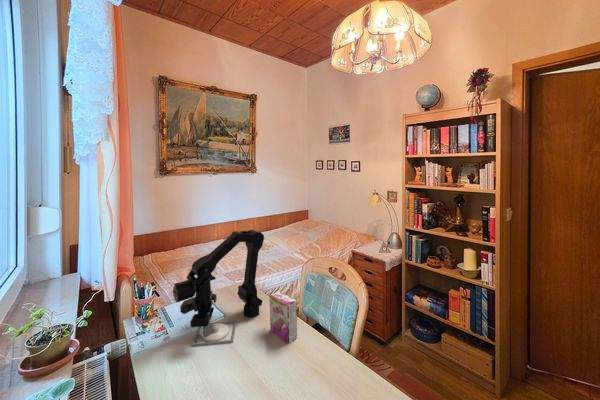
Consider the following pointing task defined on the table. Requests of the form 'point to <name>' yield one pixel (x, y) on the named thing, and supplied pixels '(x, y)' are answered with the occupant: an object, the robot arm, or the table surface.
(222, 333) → the dial
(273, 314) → the candy bar box
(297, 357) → the table surface
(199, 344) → the panel
